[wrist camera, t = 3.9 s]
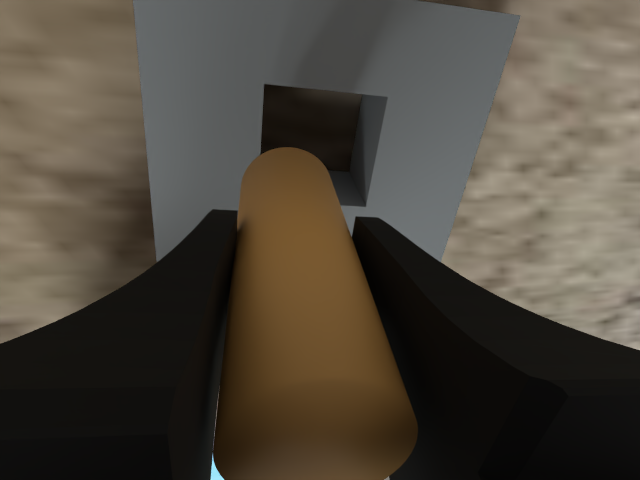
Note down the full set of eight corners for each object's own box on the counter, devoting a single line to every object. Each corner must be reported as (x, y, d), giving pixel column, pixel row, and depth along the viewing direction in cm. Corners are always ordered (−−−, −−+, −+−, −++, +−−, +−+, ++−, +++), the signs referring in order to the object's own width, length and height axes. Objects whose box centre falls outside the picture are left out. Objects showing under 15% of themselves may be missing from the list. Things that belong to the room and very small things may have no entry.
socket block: (412, 230, 24) (437, 270, 20) (173, 218, 21) (156, 261, 18) (471, 10, 18) (520, 15, 15) (157, -36, 16) (129, -43, 12)
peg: (325, 233, 15) (391, 499, 7) (238, 227, 14) (212, 507, 7) (338, 151, 13) (443, 378, 6) (242, 142, 13) (214, 378, 5)
